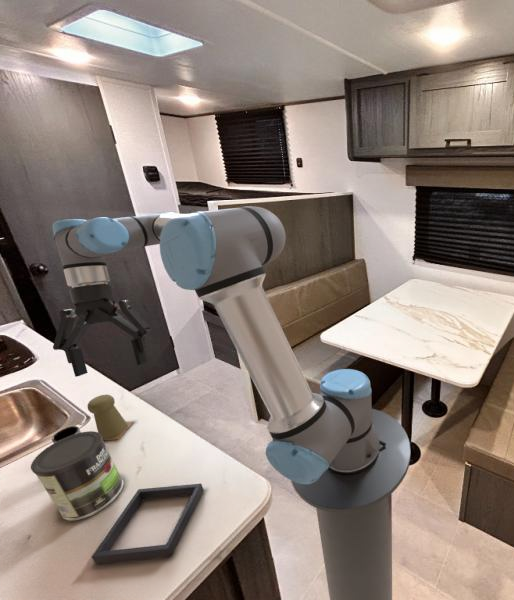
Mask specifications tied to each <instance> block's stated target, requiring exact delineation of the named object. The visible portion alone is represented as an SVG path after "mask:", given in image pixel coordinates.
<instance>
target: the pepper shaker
mask: <svg viewBox="0 0 514 600" xmlns="http://www.w3.org/2000/svg"><path fill="white" fill-rule="evenodd" d="M87 410H88V411H89V412H90V413H91V414H93V416H94V421H95V425H96V431H97V432H98V433H100V434H101V436H102V438H103V439H109V438H113V437H115V436H117V435H119V434H121V433H122V432H124V431H125V430H126V428H127V426H128V425H127V423H126V422H127V421H126V420H125V418H124V417H123V416H122V414H121V412H120V411H119V410H118V408H117V407H116V406H115V398H114V396H112V395H111V394H100V395H98V396H95V397H94V398H92V399H90V400H89V401H88V403H87ZM126 431H127V430H126ZM126 431H125V432H126ZM125 432H124V433H125Z"/></svg>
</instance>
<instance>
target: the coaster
mask: <svg viewBox="0 0 514 600" xmlns="http://www.w3.org/2000/svg"><path fill="white" fill-rule="evenodd" d="M126 423H127V425H128V426H127V428H126V430H125V431H124V432H122V433H121V434H119V435H117V436H115V437H113V438H109V439H103V442H105V441H117V440H119V439H120V438H122V436H123V435H124V434H125V433H126V432H127V430H128V429H129V428H130V427H131V426H132V425H133V424H134V422H133V421H126Z"/></svg>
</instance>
